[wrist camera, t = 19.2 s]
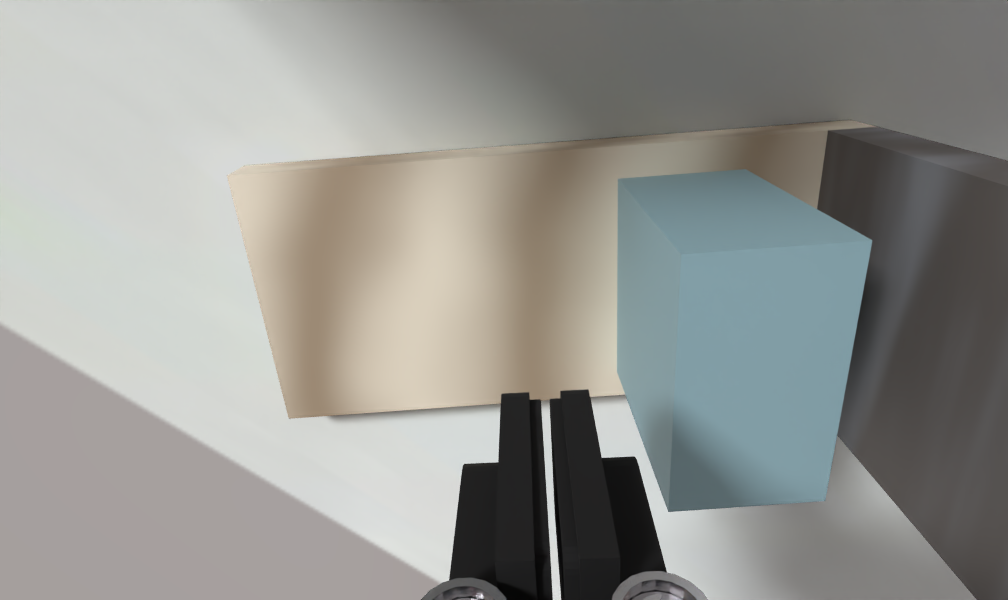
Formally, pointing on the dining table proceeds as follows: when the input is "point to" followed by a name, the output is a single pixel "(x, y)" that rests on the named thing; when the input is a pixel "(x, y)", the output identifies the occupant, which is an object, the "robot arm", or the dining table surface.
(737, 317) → the pale blue upright box
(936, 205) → the wooden bookend
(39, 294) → the dining table surface
